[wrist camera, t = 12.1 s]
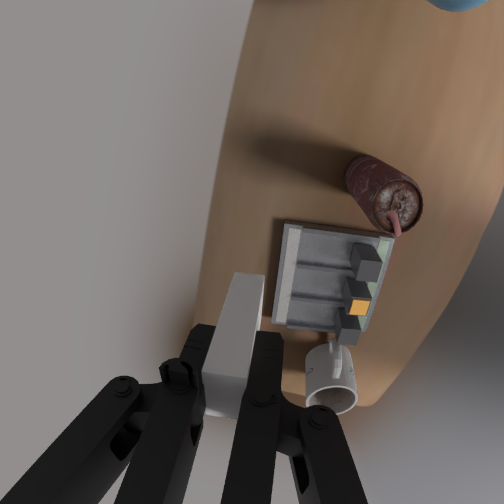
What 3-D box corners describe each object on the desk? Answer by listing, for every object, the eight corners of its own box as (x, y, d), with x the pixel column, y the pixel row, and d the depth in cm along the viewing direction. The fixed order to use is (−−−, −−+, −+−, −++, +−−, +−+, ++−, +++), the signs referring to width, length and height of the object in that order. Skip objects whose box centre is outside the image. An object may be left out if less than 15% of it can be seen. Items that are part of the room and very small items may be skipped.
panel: (284, 220, 43) (284, 225, 41) (391, 234, 42) (396, 240, 40) (271, 317, 50) (270, 326, 48) (363, 326, 49) (366, 335, 47)
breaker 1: (337, 308, 46) (341, 328, 41) (355, 309, 46) (361, 329, 41) (333, 323, 47) (336, 343, 43) (351, 324, 47) (355, 345, 43)
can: (350, 205, 41) (376, 247, 28) (338, 161, 38) (362, 185, 26) (390, 193, 39) (430, 230, 27) (379, 150, 37) (420, 169, 24)
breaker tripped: (346, 277, 44) (352, 297, 39) (365, 279, 43) (372, 299, 39) (341, 294, 45) (346, 315, 40) (360, 296, 45) (366, 317, 40)
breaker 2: (354, 243, 41) (361, 259, 37) (373, 246, 41) (383, 262, 36) (349, 262, 42) (355, 280, 38) (369, 264, 42) (377, 282, 38)
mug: (341, 377, 55) (346, 417, 46) (299, 371, 55) (299, 413, 46) (365, 331, 49) (376, 372, 40) (319, 323, 50) (322, 366, 41)
